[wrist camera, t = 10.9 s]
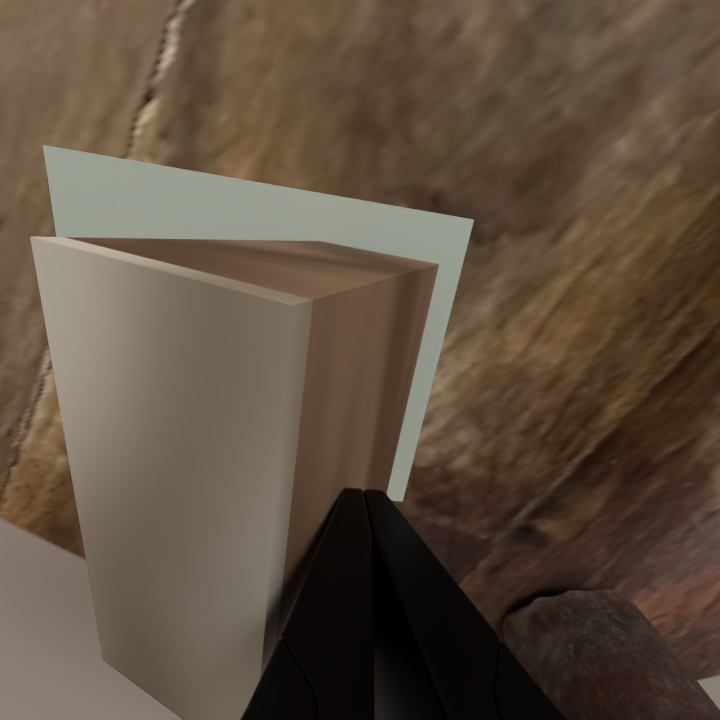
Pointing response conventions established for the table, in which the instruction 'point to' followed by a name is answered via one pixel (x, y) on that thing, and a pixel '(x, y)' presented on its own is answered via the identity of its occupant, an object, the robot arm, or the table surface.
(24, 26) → the table surface
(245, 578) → the walnut slab
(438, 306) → the sage mat
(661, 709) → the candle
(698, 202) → the table surface
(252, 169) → the table surface
